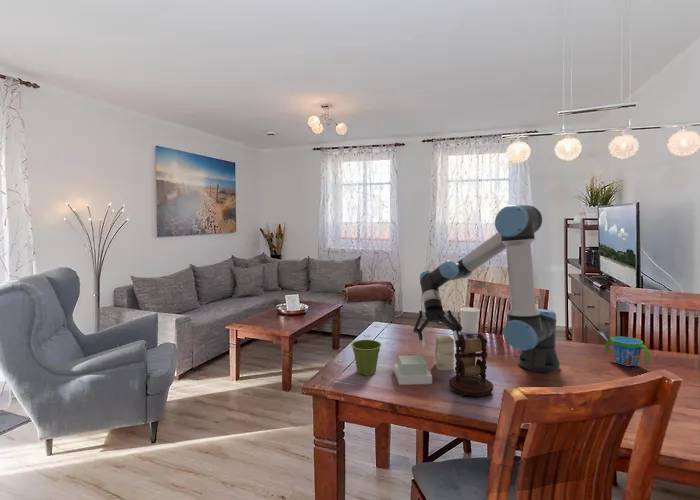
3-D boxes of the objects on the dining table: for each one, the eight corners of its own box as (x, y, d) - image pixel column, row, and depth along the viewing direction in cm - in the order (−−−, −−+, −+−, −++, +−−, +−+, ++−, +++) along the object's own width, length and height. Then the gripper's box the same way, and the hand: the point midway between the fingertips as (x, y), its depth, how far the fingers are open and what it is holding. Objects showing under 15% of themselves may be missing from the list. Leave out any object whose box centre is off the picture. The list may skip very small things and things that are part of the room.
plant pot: (345, 371, 155) (344, 343, 154) (368, 364, 163) (368, 337, 162) (364, 381, 146) (364, 351, 145) (387, 373, 153) (387, 344, 152)
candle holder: (469, 335, 201) (469, 312, 200) (455, 330, 210) (456, 308, 209) (483, 332, 206) (483, 310, 205) (469, 328, 214) (470, 306, 213)
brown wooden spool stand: (481, 380, 146) (482, 327, 144) (501, 398, 131) (502, 339, 129) (442, 382, 144) (443, 329, 142) (458, 401, 129) (459, 341, 128)
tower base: (394, 371, 154) (394, 354, 154) (424, 371, 155) (424, 353, 154) (399, 384, 142) (399, 365, 142) (432, 383, 143) (432, 365, 142)
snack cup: (598, 359, 165) (599, 336, 165) (616, 356, 169) (617, 333, 168) (636, 373, 151) (637, 347, 150) (655, 369, 154) (656, 344, 153)
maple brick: (434, 364, 162) (434, 335, 161) (449, 364, 162) (449, 335, 161) (438, 370, 156) (438, 340, 155) (453, 369, 156) (453, 340, 155)
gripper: (458, 306, 177) (469, 350, 163) (403, 307, 176) (409, 351, 163) (462, 297, 171) (473, 341, 158) (405, 298, 171) (411, 343, 157)
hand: (441, 346), depth 160 cm, fingers open, 13 cm apart
